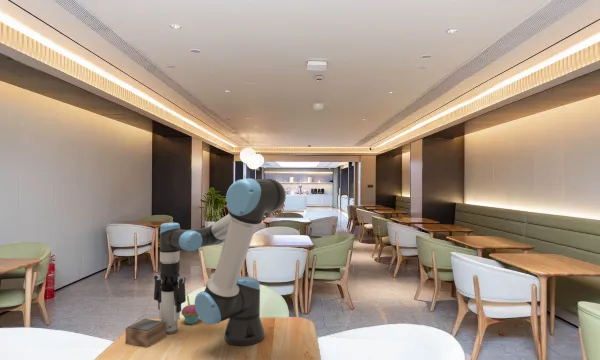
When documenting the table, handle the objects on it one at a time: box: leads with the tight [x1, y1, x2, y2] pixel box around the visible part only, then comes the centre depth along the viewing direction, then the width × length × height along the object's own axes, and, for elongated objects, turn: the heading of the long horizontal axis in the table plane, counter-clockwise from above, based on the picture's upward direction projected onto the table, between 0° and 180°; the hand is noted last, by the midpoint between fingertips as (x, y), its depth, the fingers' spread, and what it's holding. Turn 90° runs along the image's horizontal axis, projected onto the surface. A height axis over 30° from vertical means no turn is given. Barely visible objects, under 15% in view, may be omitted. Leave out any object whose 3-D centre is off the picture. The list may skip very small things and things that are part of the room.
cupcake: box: [180, 294, 200, 325], centre depth 166 cm, size 9×8×12 cm
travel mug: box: [160, 282, 179, 335], centre depth 156 cm, size 6×7×20 cm
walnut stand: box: [125, 318, 167, 348], centre depth 147 cm, size 10×10×6 cm
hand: (169, 318), depth 156 cm, fingers closed on travel mug, 6 cm apart
